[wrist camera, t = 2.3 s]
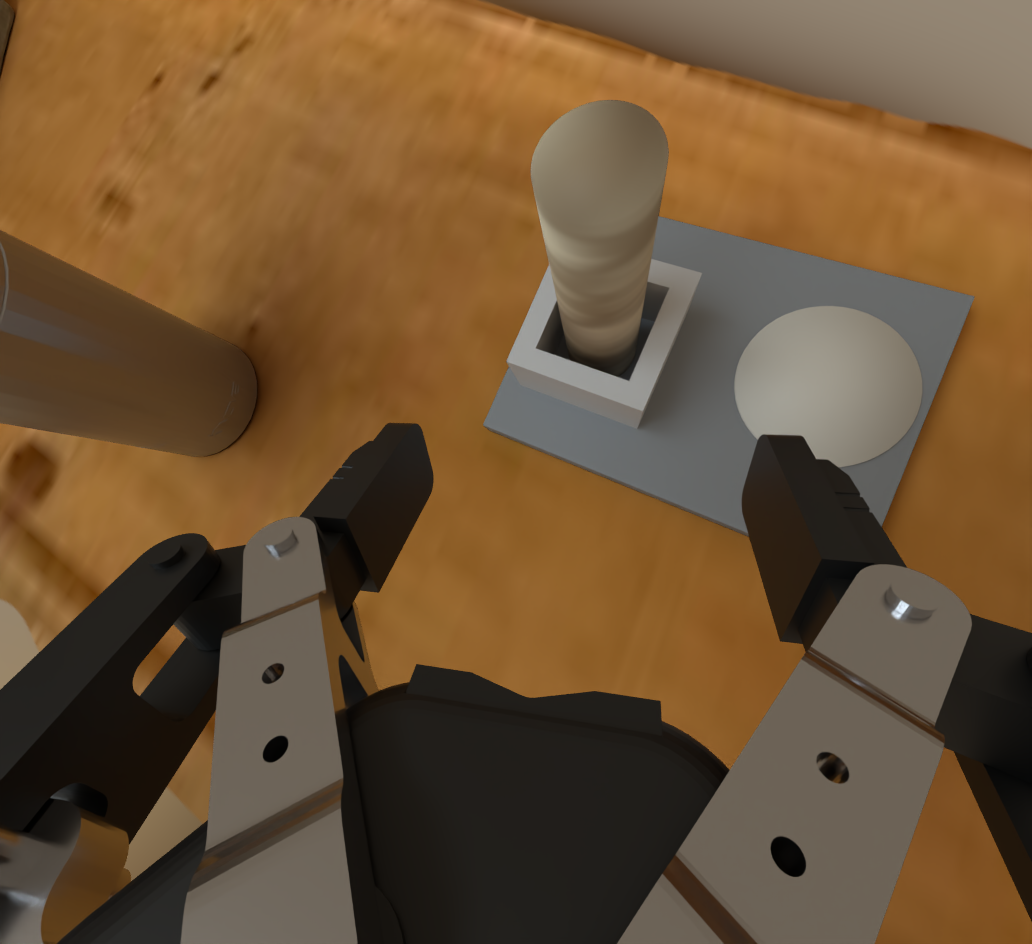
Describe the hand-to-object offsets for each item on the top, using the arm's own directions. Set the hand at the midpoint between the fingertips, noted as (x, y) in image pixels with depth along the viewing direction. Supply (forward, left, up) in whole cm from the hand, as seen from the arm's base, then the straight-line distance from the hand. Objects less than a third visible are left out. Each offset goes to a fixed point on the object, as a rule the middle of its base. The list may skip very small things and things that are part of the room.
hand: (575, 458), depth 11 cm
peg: (-3, +9, -15) cm, 18 cm away
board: (+3, +10, -17) cm, 19 cm away
